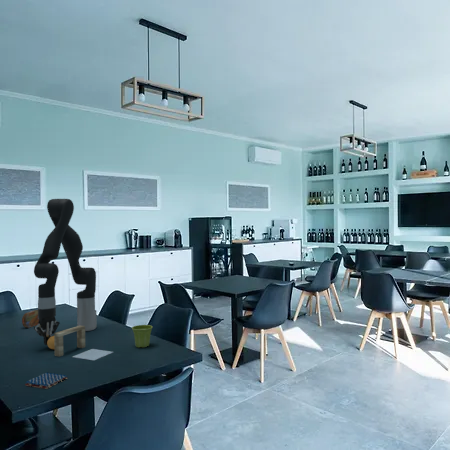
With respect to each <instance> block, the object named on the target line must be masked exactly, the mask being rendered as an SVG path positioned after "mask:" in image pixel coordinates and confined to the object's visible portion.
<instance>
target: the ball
mask: <svg viewBox="0 0 450 450" xmlns="http://www.w3.org/2000/svg"><path fill="white" fill-rule="evenodd" d="M46 346H47V347H48V348H49V349H51V350H55V346H54V335H51V337H50V338H49V339H48V341H47V345H46Z"/></svg>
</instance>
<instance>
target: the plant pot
mask: <svg viewBox="0 0 450 450" xmlns="http://www.w3.org/2000/svg"><path fill="white" fill-rule="evenodd" d="M131 329H132V332H133V336H134V337H133V338H134V345H135V347H136V348H147V346H148V347H149V346H150V342H151V341H150V339H151V333H152V329H153V326H152V324H151V325H150V324H138V325H134V326H132V327H131Z"/></svg>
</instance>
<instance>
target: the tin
mask: <svg viewBox="0 0 450 450" xmlns="http://www.w3.org/2000/svg"><path fill="white" fill-rule="evenodd" d="M38 322H39V318H38V309H34V310H31V311H28V312H24V314H23V315H22V317H21V324H22V327H24V328H27V329H31V328H34V327H36V326H37V325H38ZM33 326H34V327H33ZM30 327H31V328H30Z"/></svg>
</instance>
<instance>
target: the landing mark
mask: <svg viewBox="0 0 450 450" xmlns="http://www.w3.org/2000/svg"><path fill="white" fill-rule="evenodd" d="M113 353H114V351H109V350H104V349H103V350H102V349H96V348H91V349H89V350H85V351H83V352H80V353H78V354H75V355H73V356H72V358H76V359H83V360H88V361H94V362H95V361H96V360H99V359H102V358H105V356H109V355H110V354H113Z"/></svg>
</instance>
